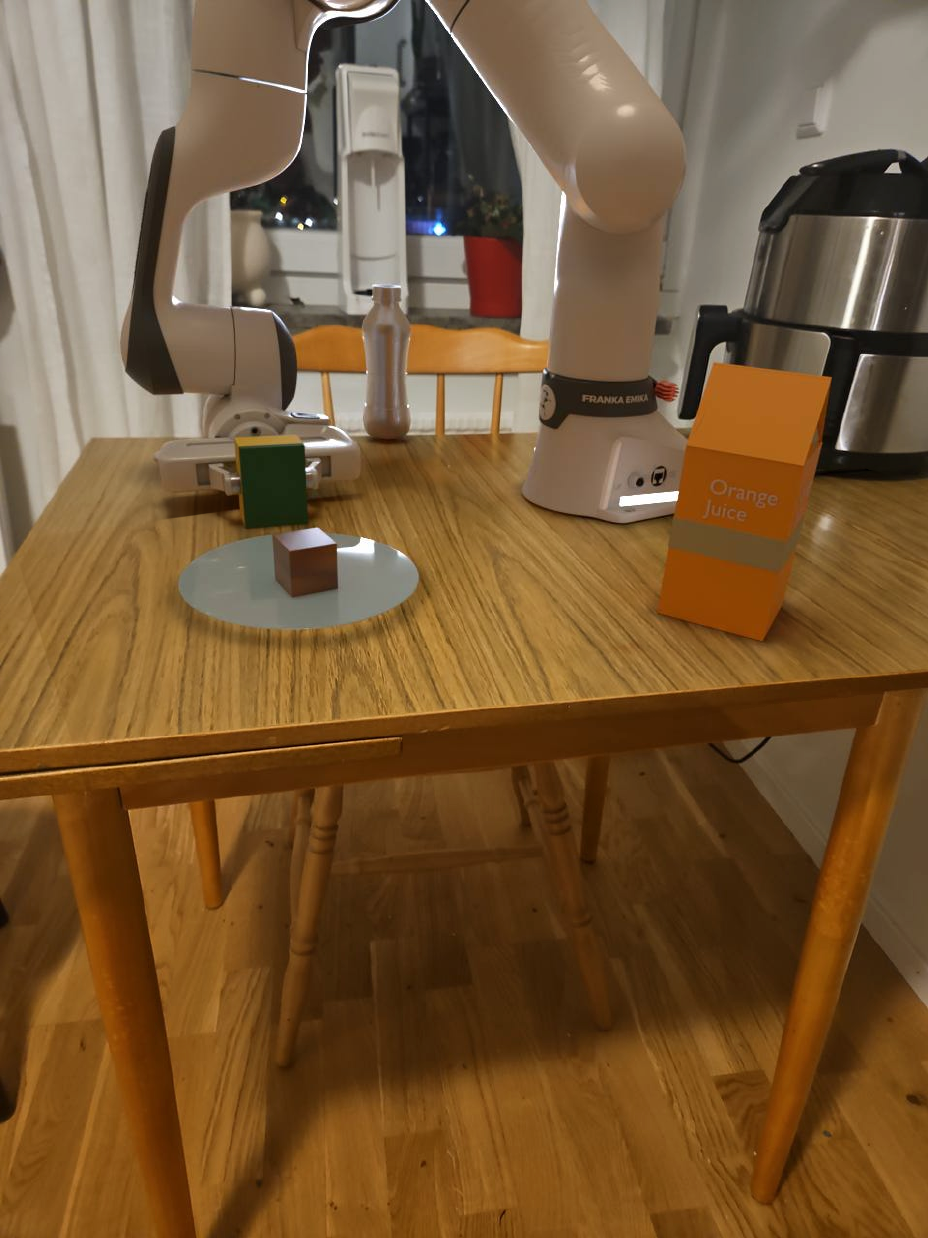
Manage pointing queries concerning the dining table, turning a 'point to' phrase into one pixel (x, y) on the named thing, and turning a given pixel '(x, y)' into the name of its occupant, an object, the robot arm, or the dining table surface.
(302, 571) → the brown cube
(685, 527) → the orange juice
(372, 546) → the plate
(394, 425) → the plastic bottle
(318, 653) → the dining table surface
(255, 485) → the sponge
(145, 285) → the robot arm
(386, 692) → the dining table surface
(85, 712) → the dining table surface
